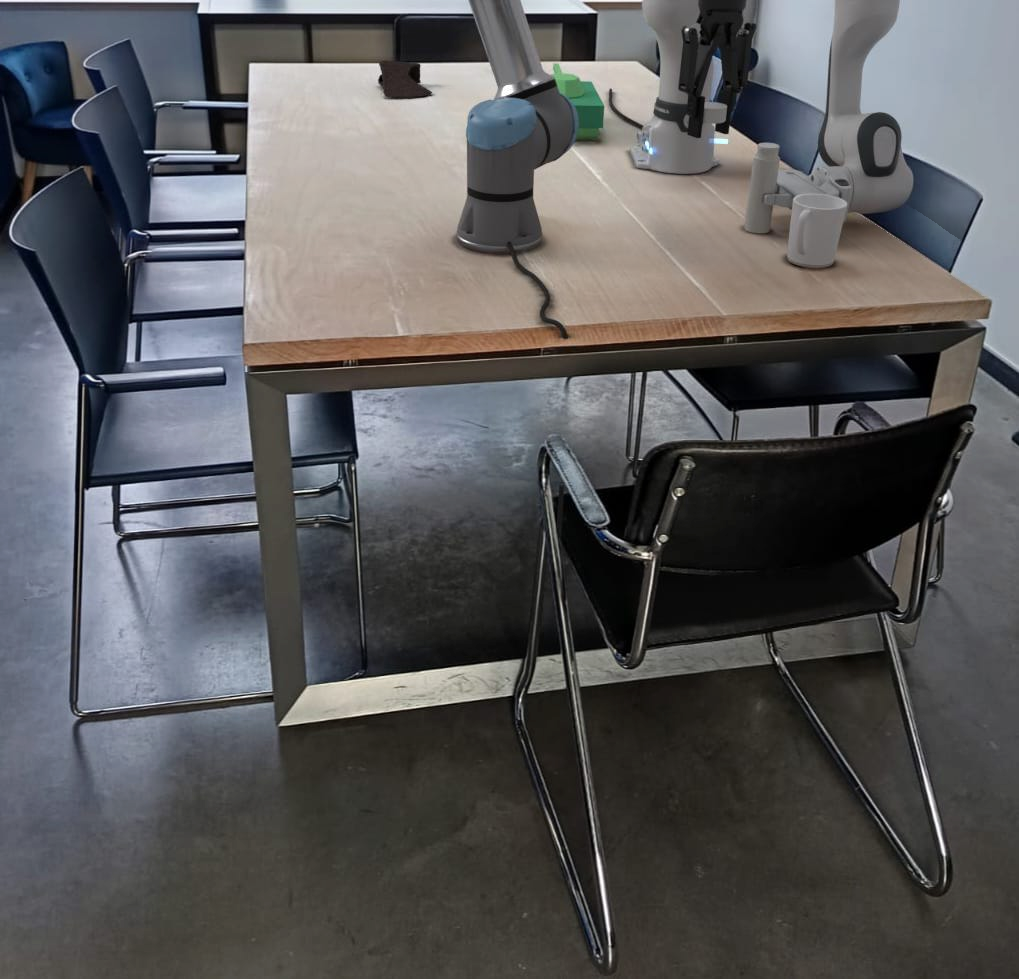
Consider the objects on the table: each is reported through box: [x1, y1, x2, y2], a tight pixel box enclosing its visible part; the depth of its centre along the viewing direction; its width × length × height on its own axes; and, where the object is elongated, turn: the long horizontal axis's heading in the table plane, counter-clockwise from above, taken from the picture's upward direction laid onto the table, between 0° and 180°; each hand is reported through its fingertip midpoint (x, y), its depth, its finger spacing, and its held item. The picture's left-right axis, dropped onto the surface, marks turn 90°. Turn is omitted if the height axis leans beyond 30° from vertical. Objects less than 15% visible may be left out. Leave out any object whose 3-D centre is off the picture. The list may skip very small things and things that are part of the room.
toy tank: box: [550, 63, 605, 141], centre depth 267 cm, size 18×12×35 cm
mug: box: [786, 194, 847, 269], centre depth 186 cm, size 11×9×10 cm
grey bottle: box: [743, 142, 781, 234], centre depth 200 cm, size 5×5×16 cm
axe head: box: [377, 59, 433, 99], centre depth 299 cm, size 18×8×15 cm
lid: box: [703, 101, 727, 125], centre depth 181 cm, size 5×5×2 cm
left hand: (708, 134), depth 183 cm, fingers closed on lid, 5 cm apart
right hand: (757, 194), depth 200 cm, fingers closed on grey bottle, 5 cm apart
